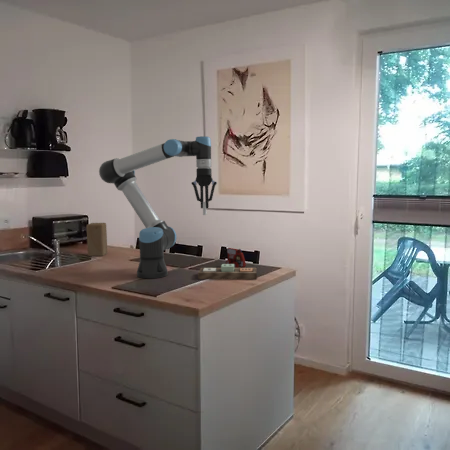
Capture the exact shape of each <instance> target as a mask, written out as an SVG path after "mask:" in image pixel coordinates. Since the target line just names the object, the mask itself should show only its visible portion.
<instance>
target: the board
mask: <svg viewBox="0 0 450 450" xmlns="http://www.w3.org/2000/svg"><path fill="white" fill-rule="evenodd" d="M204 268H205V267H200V269H199V271H198V272H197V279H198V280H257V279H258V277H257V270H258V269H257V267H252V268H253V272H240V268H241V267H239V268H234V272H221V267H215V268H216V272H203V269H204Z"/></svg>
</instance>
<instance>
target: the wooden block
mask: <svg viewBox="0 0 450 450" xmlns="http://www.w3.org/2000/svg"><path fill="white" fill-rule="evenodd" d="M107 233H108V232H107V223H106V222H91V223H88V224H86V242H87V243H86V245H87V256H88V257H104V256H105V255H107V254H108V236H107V235H108V234H107Z"/></svg>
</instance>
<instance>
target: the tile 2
mask: <svg viewBox="0 0 450 450" xmlns="http://www.w3.org/2000/svg"><path fill="white" fill-rule="evenodd" d="M220 268H221V272H234V264H225V263H222V264H221V265H220Z"/></svg>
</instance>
